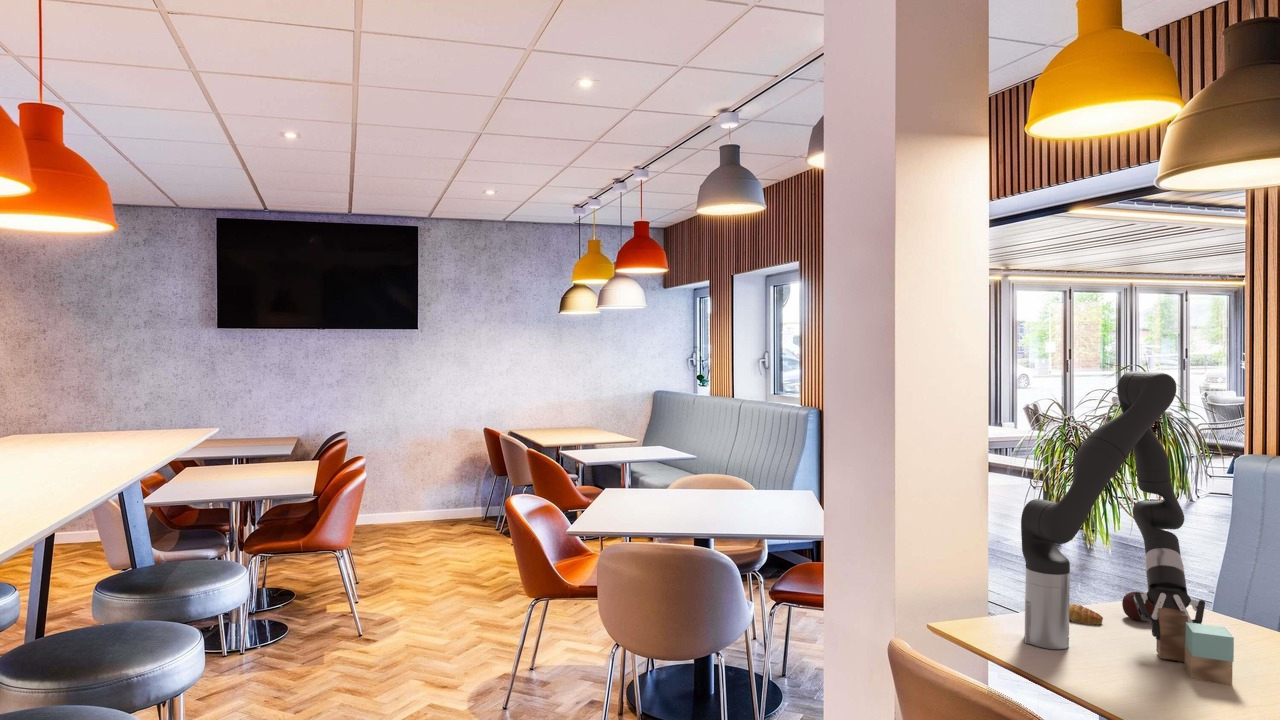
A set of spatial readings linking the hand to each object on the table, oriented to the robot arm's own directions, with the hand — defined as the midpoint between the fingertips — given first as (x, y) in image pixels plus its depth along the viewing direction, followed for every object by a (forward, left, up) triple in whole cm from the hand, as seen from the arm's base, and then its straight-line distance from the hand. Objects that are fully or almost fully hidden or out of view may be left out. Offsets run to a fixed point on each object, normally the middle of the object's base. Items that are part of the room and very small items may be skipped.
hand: (1173, 639), depth 173 cm
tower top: (+5, -6, 0) cm, 8 cm away
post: (0, +2, -4) cm, 5 cm away
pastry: (-17, +23, -5) cm, 29 cm away
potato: (-3, +30, -5) cm, 30 cm away
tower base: (+5, -6, -5) cm, 9 cm away
